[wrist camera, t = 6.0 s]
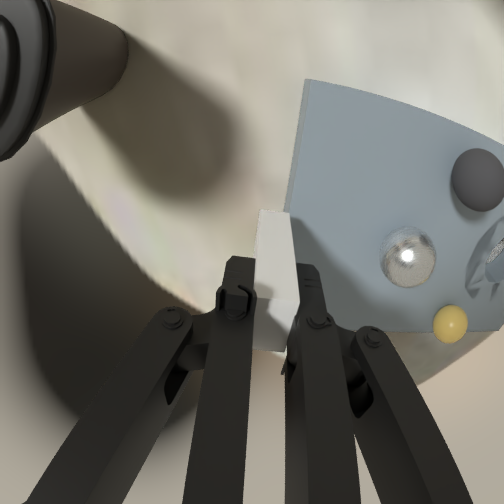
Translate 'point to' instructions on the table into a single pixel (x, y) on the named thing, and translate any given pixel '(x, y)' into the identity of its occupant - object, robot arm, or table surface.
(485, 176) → the black ball
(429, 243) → the steel ball
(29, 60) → the coffee cup
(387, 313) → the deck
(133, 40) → the table surface
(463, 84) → the table surface
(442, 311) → the mustard ball
